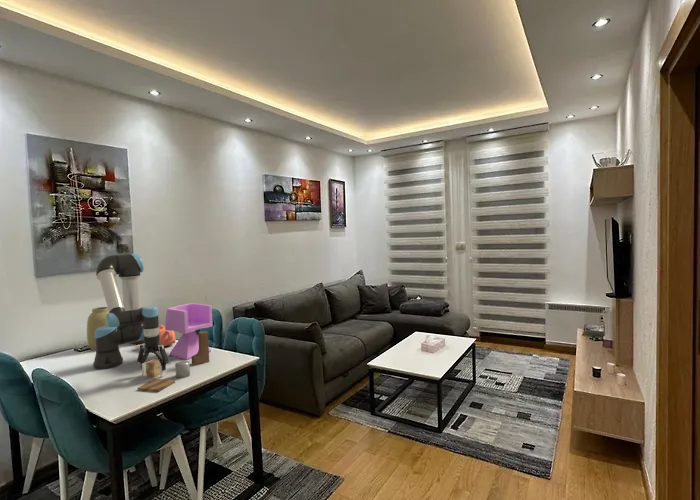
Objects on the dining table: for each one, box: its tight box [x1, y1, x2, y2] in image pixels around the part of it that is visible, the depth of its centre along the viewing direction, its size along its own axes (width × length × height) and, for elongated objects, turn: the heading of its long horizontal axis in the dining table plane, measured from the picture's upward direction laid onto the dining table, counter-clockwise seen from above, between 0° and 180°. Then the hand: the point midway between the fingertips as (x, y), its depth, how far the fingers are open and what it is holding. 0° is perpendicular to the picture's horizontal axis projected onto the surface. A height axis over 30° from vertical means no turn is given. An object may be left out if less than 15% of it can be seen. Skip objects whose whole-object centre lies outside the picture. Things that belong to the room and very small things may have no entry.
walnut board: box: [137, 378, 176, 393], centre depth 199 cm, size 12×12×1 cm
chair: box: [164, 302, 214, 361], centre depth 249 cm, size 20×20×30 cm
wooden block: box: [191, 330, 210, 366], centre depth 232 cm, size 9×4×18 cm, turn 130°
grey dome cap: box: [174, 360, 191, 379], centre depth 212 cm, size 7×7×7 cm
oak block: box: [145, 359, 161, 379], centre depth 213 cm, size 5×5×8 cm
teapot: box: [158, 324, 177, 347], centre depth 268 cm, size 22×13×14 cm, turn 56°
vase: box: [86, 306, 109, 351], centre depth 267 cm, size 17×17×27 cm
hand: (153, 375), depth 213 cm, fingers open, 11 cm apart
